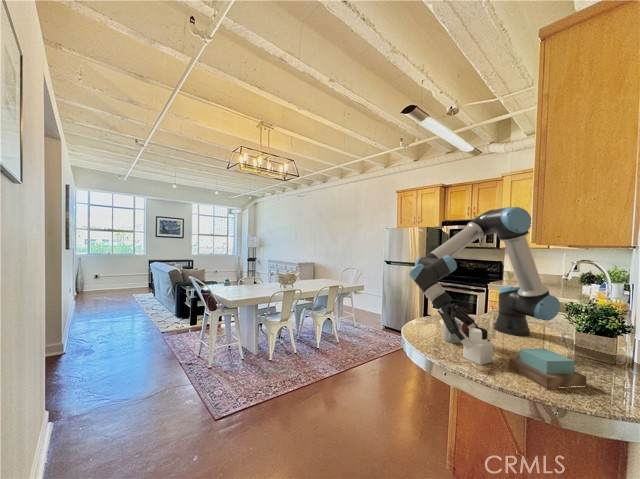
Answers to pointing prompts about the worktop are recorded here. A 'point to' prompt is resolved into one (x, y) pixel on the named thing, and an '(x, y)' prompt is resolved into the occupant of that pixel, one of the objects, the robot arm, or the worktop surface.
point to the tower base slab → (546, 376)
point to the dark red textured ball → (466, 328)
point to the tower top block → (547, 361)
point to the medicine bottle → (479, 346)
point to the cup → (448, 336)
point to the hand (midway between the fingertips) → (476, 343)
